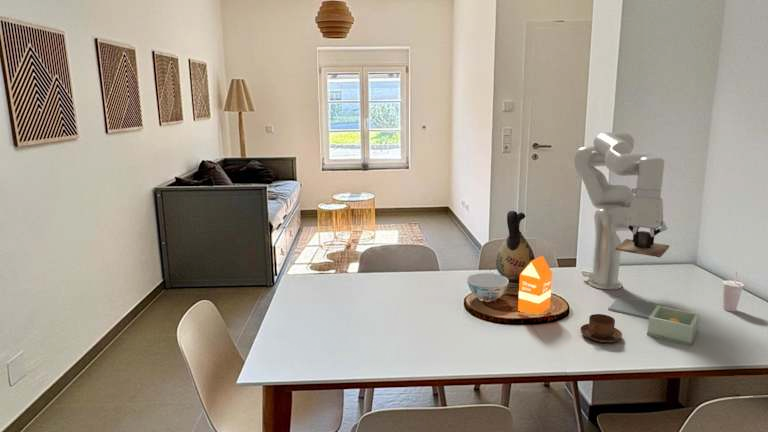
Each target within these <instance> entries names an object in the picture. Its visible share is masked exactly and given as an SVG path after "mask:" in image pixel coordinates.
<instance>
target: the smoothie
mask: <svg viewBox="0 0 768 432" xmlns="http://www.w3.org/2000/svg"><path fill="white" fill-rule="evenodd" d="M737 280H738V271H737V270H735V275H734V280H732V279H731V280H728V279H726V280H723V281H722V282H721V286H722V308H723V310H724V311H727V312H731V313H732V312H736V311H737V308H738V305H739V301H740V300H741V299H740V298H741V296H742V292H743V290H744V288H745V284H744V283H742V282H741V281H737Z"/></svg>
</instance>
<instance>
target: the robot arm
mask: <svg viewBox="0 0 768 432" xmlns="http://www.w3.org/2000/svg"><path fill="white" fill-rule="evenodd" d="M592 144H593V145H587V146H582V147H580V148H578V149H577V150H576V151H575V153H574V158H573V162H574V168H575V170H576V173H577V174H578V176H579V178H580V179H581V180H582V182H583V184H584V185H585V189H586V192H587V194H588V197H589V199H590V202H591V204H592V206H593V207H594V208H596V209H597V210H596V211H595V213H594V215H593V219H594V230H595V231H594V232H595V236H594V251H593V252H594V253H593V261H592V263H593V264H592V270H590V271H588V270H585V269H582V270H581V275H582V276H583V277H587V278H588V279H587V284H588V285H589V286H590V287H594V288H597V289H601V290H619V289H621V288H622V286H623V282H621V281H620V280H619V275H620V264H621V263H620V261H621V252H622V251H618V250H615V248H616V247H617V246H618V245H620V244H621V243H622V240H621V238H620V237H619V235H618V234H617V232H624V231H625V232H626V231H627V232H630V231H631V233H632V234H633V235H632V240H633V243H634V246H637V240H638V232H639V231H640V229H641V228H646V229H649V233H650V236H649V237H648V245H647V247H648V248H650V247H651V246H652V245H653V244H654V243H655V236H657V235H658V234H659V233H661V232H662V233H663V232H664V231H667V230H668V226H667V225H666V223H665V221H664V201H663V198H662V188H663V179H664V171H665V170H664V168H665V159H664V158H663V157H661V156H655V155H653V154H650V153H631V152H632V151H633V150H634V147H635V139H634V137H633V136H632V134H630V133H628V132H619V131H618V132H603V133H599V134H598V135H597V136H596V137H594V140H593V143H592ZM596 167H606V169H608V171H610V172H612V173H613V174H614V175H617V176H620V177H621V176H623V177H624V176H625V177H626V176H637V177H636V178H637V181H636V187H635V188H630V187H629V186H627V185H624V184H623V185H622V184H610V183H609V182H608V179H607V177H606V175H605V174H604V173H603V172H602V171H600V170H599V169H598V168H596Z"/></svg>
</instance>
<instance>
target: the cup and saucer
mask: <svg viewBox="0 0 768 432" xmlns="http://www.w3.org/2000/svg"><path fill="white" fill-rule="evenodd" d="M615 323H616V320H615V318H613V317H612V316H611V315H608V314H601V313H595V314H594V313H593V314H590V316H589V318H588V323H585V324H584V325H582V326H581V327H580V332H581V334H582V335H584V337H586V338H587V339H589V340H592V341H596V342H600V343H613V342H617V341H619V340H620V339H622V336H623V333H622V331H621V330H619V329H618V328H616V327H615V325H616V324H615Z"/></svg>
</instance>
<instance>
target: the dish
mask: <svg viewBox="0 0 768 432" xmlns="http://www.w3.org/2000/svg"><path fill="white" fill-rule="evenodd" d="M700 315H701V314H700V313H696V312H691V311H688V310H687V311H686V310H681V309H676V308H671V307H667V306H664V307H663V306H658V305H657V307H656V308H655V310H654V311H653V312H652V314H651V315H650V317H649V319H648V324H647V331H646V332H647V333H646V335H647V336H650V337H653V338H658V339H662V340H666V341H670V342H674V343H678V344H682V345H686V346H690V347H691V346H692V344H693V342H694V340H695V338H696V335H697V334H698V330H699V323H700V322H699V321H700ZM670 318H675V319H677V320H679V322H680V323H678V322H674V321H669V320H668V319H670Z"/></svg>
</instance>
